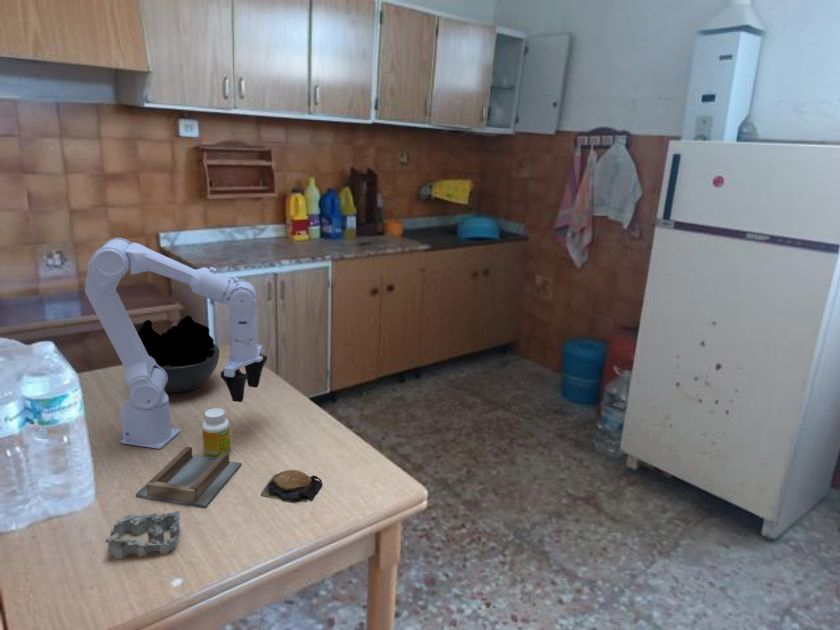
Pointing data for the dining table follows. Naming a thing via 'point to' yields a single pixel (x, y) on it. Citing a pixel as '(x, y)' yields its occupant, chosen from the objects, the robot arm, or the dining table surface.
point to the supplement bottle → (215, 433)
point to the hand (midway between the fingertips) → (245, 393)
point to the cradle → (190, 479)
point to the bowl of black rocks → (182, 353)
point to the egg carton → (138, 526)
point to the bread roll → (292, 486)
